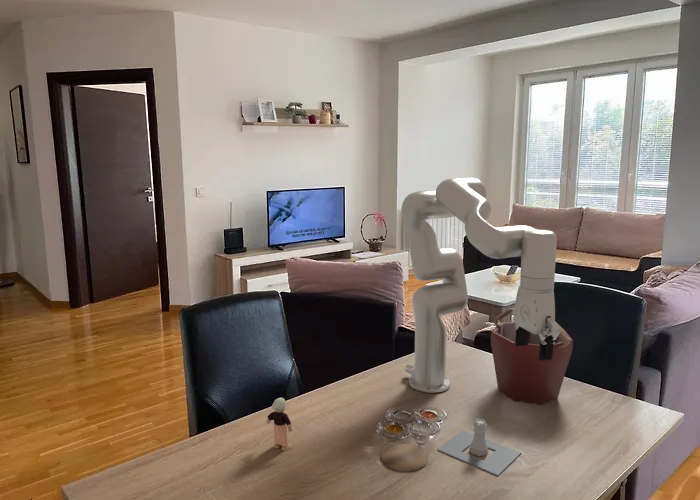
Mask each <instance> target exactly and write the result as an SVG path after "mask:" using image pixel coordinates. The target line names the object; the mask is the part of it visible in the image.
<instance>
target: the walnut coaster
mask: <svg viewBox="0 0 700 500" xmlns="http://www.w3.org/2000/svg"><path fill="white" fill-rule="evenodd" d="M380 459H381V462H382V463H383V464H384V465H385V466H386V467H388V468H389V469H391V470H394V471H398V472H404V473H405V472H408V473H409V472H415V471H420V470H421V469H423V468H424V467H425V466H426V465H427V464H428V461H429V460H428V459H429V458H428V453H427V451H425V450H424V449H423V448H421V447H420V446H417V445H415V444H410V443H395V444H391V445H388V446H386V447H385V448H383V450H382V451H381V453H380Z"/></svg>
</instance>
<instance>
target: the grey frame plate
mask: <svg viewBox="0 0 700 500" xmlns="http://www.w3.org/2000/svg"><path fill="white" fill-rule="evenodd" d="M473 439H474V433H471V432H468V431H465V430H463V429H462V430H460V431H458V432H457V433H456V434H455V435H454V436H453V437H451V438H450V439H448V440H447V441H446V442H444V443H443V444H442V445H441V446H439V447H438V448H437V450H436V451H438V452H440V453H443V454H445V455H446V456H447V455H448V456H449V457H452V458H455V459H457V460H460V461H462V462H464V463H465V464H469V465H471V466H473V467H475V468H478V469H480V470H483V471H484V472H487V473H489V474H492V475H494V476H497V477H499V476H500V475H501V474H502V473H503V472H504V471H505V470H506V469H508V467H509V466H510V465H511V464H512V463H513V462H514V461H516V459H517V458H519V457H520V455H522V452H521V451H518V450H516V449H512V448H510V447H508V446H505V445H502V444H500V443H497V442H494V441H492V440H489V439H487V438H485V441H486V443H487V445H488V450H492V451H493V453H491V454H490V455H489V456H488V457H487V458H486V459H485V460H483V459H481V458H478V457H475V456H474V454H473V453H471V454H472V455H470V454H468V453H466V452H464V451H465V450H467V449H469V448H470V444H471V442H472V440H473Z"/></svg>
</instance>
